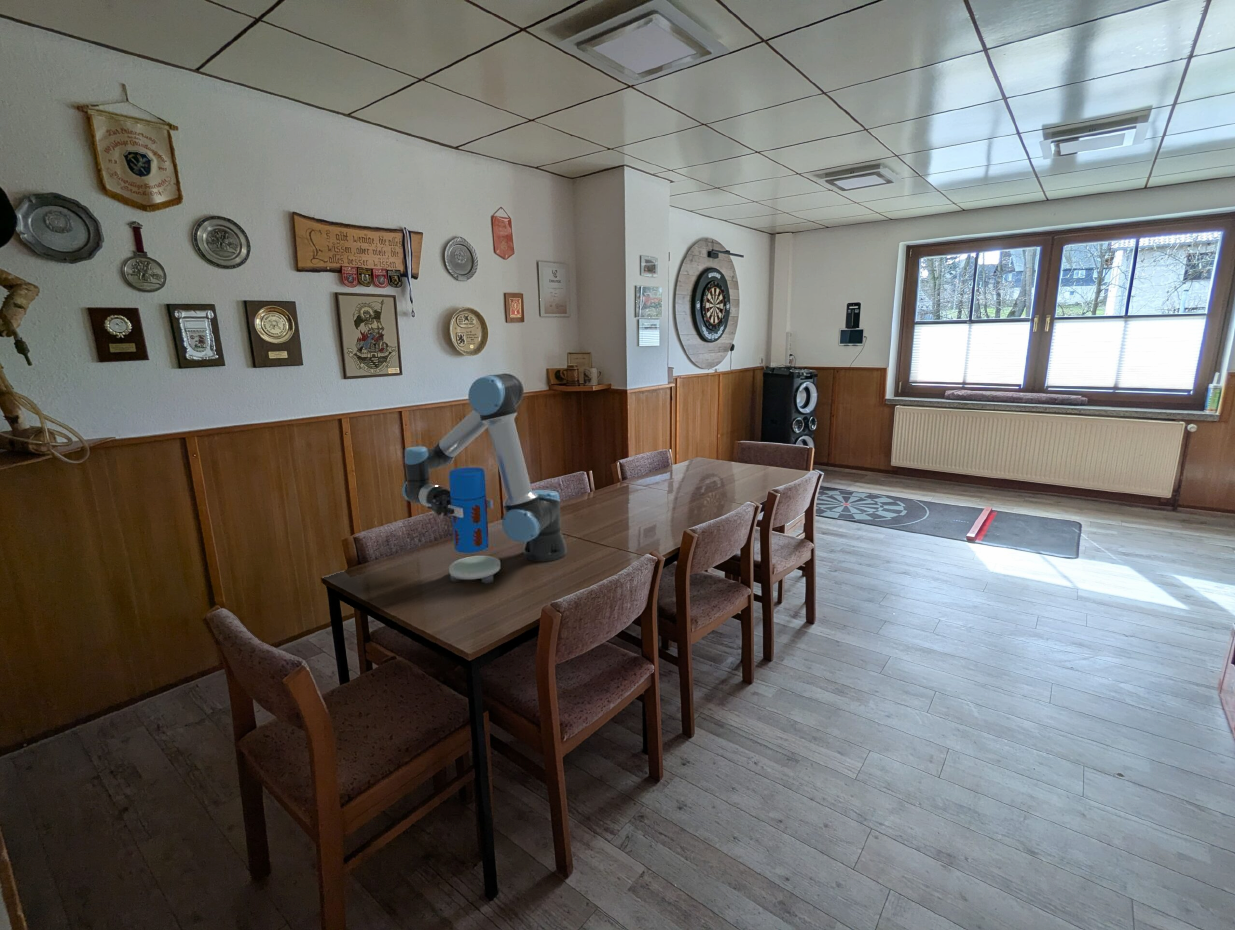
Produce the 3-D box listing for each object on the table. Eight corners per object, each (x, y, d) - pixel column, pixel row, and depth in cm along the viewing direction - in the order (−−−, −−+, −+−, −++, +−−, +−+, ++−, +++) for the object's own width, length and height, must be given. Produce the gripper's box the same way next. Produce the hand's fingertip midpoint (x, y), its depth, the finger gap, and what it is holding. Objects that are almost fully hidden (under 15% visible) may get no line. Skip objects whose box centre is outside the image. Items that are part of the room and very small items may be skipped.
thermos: (492, 540, 188) (487, 466, 183) (485, 552, 178) (480, 474, 172) (458, 541, 188) (453, 467, 183) (450, 553, 178) (444, 475, 172)
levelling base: (441, 585, 178) (440, 573, 177) (462, 565, 194) (461, 554, 193) (490, 588, 176) (489, 575, 175) (507, 567, 191) (507, 556, 190)
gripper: (465, 500, 201) (506, 511, 187) (405, 516, 183) (446, 529, 169) (464, 479, 199) (505, 489, 185) (403, 493, 181) (444, 505, 168)
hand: (477, 508), depth 177 cm, fingers closed on thermos, 11 cm apart
